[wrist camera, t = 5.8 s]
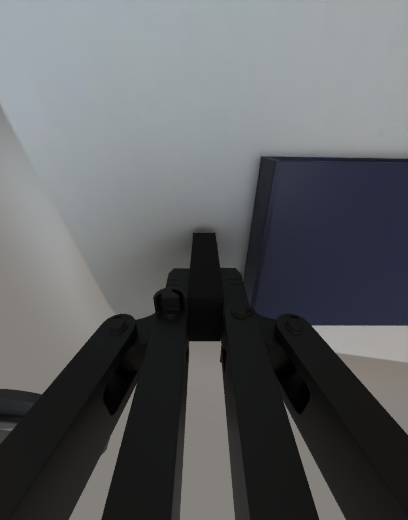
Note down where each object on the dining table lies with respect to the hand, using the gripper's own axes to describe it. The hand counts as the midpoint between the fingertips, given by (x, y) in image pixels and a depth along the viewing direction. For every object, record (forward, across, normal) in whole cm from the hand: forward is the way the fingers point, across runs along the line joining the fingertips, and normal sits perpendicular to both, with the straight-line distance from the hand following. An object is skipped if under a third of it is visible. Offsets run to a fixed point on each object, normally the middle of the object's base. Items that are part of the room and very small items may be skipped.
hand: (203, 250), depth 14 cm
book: (+2, +12, 0) cm, 12 cm away
